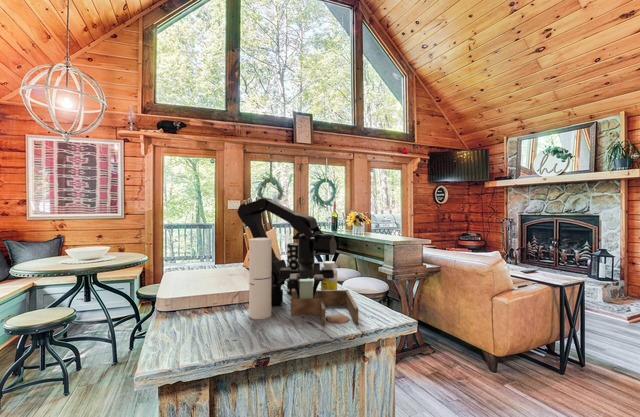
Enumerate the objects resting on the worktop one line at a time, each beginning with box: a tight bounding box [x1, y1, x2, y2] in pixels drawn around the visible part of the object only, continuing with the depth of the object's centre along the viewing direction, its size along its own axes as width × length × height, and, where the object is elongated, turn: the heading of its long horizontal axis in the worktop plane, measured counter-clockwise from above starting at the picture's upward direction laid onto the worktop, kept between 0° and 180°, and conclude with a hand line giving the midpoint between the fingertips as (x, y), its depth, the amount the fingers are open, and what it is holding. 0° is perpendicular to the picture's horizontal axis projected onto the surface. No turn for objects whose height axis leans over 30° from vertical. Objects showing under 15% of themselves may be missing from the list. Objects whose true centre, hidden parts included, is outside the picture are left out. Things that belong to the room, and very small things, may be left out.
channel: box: [290, 289, 359, 326], centre depth 105 cm, size 20×20×5 cm
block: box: [300, 278, 314, 299], centre depth 109 cm, size 4×4×8 cm
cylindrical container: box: [248, 237, 273, 320], centre depth 103 cm, size 7×7×25 cm
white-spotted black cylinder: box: [286, 242, 308, 296], centre depth 130 cm, size 8×8×20 cm
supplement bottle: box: [320, 260, 338, 290], centre depth 129 cm, size 7×7×13 cm
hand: (306, 297), depth 109 cm, fingers closed on block, 4 cm apart
